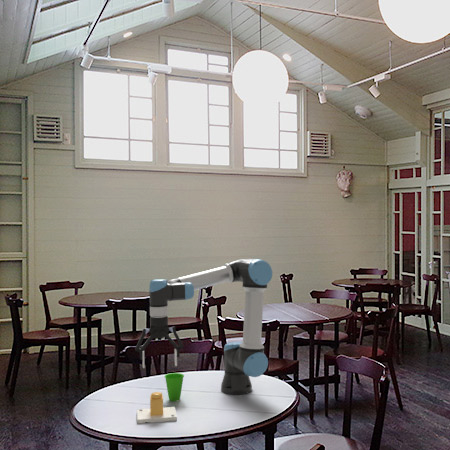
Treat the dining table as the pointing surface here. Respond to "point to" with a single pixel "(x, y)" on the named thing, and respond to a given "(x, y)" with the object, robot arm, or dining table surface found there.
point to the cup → (174, 385)
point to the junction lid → (145, 415)
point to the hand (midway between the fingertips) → (159, 366)
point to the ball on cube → (156, 404)
